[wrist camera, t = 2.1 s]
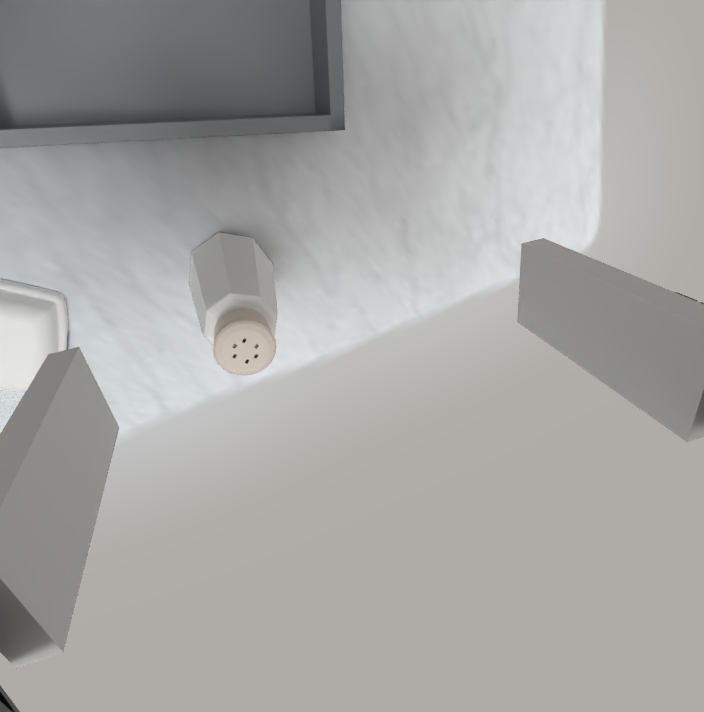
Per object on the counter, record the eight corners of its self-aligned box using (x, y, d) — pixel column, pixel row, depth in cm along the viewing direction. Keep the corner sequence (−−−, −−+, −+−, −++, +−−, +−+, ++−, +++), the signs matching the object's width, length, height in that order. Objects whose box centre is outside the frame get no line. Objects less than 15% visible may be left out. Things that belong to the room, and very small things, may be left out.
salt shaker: (171, 287, 30) (159, 375, 20) (212, 213, 28) (220, 271, 19) (247, 324, 32) (266, 417, 23) (288, 258, 31) (327, 328, 22)
